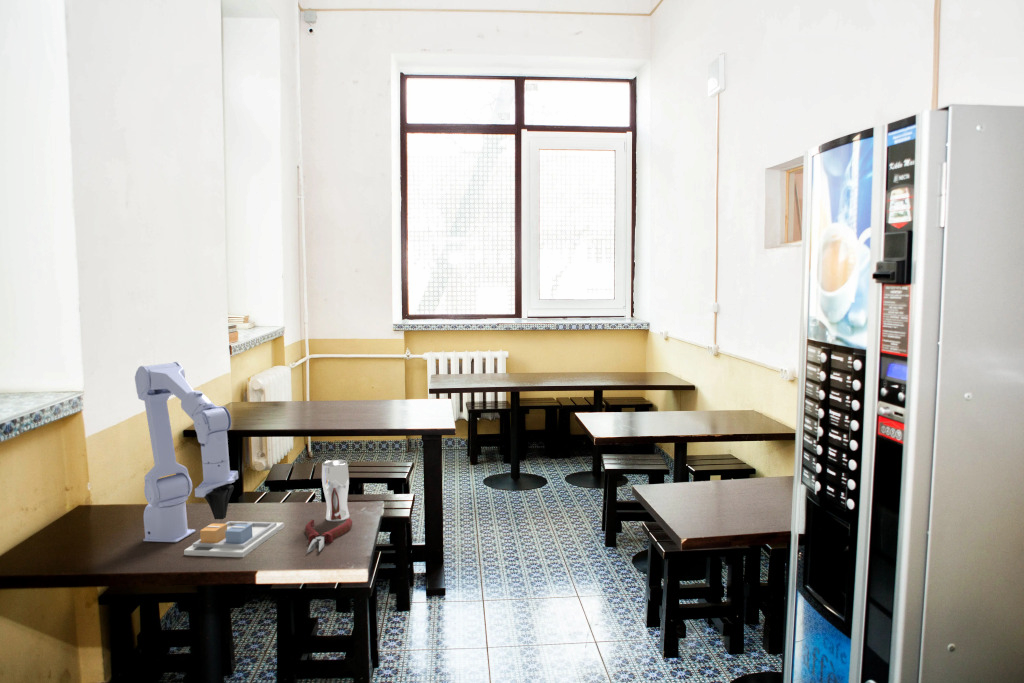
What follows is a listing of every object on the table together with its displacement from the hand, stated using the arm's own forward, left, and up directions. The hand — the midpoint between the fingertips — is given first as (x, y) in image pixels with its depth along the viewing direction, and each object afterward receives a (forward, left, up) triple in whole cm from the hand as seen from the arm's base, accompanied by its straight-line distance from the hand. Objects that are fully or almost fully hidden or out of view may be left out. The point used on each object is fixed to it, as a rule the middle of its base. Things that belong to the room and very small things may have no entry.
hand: (220, 518), depth 170 cm
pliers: (+17, +14, -10) cm, 24 cm away
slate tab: (0, +7, -8) cm, 11 cm away
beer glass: (+16, +29, -10) cm, 34 cm away
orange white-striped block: (-6, +7, -8) cm, 12 cm away
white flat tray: (-3, +11, -10) cm, 15 cm away
